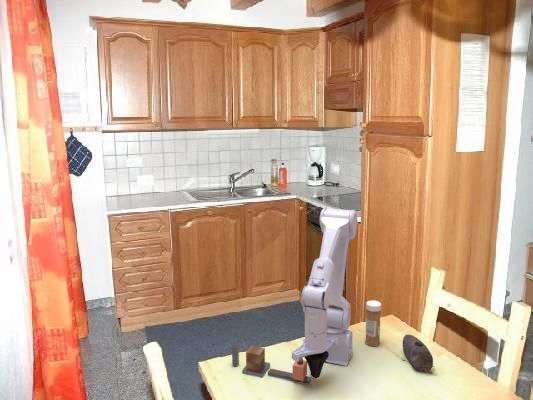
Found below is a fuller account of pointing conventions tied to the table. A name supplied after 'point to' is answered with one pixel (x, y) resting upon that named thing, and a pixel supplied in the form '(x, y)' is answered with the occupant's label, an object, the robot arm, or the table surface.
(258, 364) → the block
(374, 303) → the sprinkles bottle
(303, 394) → the table surface
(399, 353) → the table surface
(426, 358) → the perforated stone tool
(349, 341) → the robot arm
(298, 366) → the lever handle
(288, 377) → the rail
